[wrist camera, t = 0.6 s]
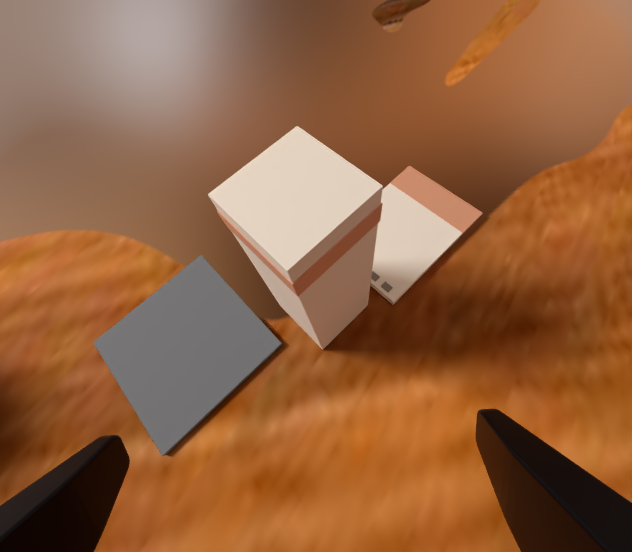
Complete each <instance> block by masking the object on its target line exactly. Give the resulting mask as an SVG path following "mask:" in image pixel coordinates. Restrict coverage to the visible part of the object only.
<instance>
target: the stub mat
mask: <svg viewBox="0 0 632 552" xmlns="http://www.w3.org/2000/svg"><path fill="white" fill-rule="evenodd" d="M93 343H94V344H95V346H96V348H97V349H98V351H99V353H100V354H101V356H102V358H103V359H104V361H105V362H106V364H107V366H108V367H109V369H110V371H111V372H112V374H113V376H114V377H115V379H116V381H117V382H118V384H119V385H120V387H121V389H122V390H123V392H124V394H125V395H126V397H127V399H128V400H129V402H130V404H131V405H132V407H133V408H134V410H135V412H136V413H137V415H138V417H139V418H140V420H141V422H142V423H143V425H144V426H145V428H146V430H147V431H148V433H149V435H150V436H151V438H152V440H153V441H154V443H155V445H156V446H157V448H158V449H159V451H160V453H161V454H162V456H164V455H167V454H168V453H169V452H170V451H171V450H172V449H173V448H174V447H175V446H176V445H177V444H178V443H179V442H180V441H181V440H182V439H183V438H184V437H186V436H187V435H188V434H189V433H190V432H191V431H192V430H193V429H194V428H195V427H196V426H197V425H198V424H199V423H200V422H201V421H202V420H203V419H205V418H206V417H207V416H208V415H209V414H210V413H211V412H212V411H213V410H214V409H215V408H216V407H217V406H218V405H219V404H220V403H221V402H222V401H224V400H225V399H226V398H227V397H228V396H229V395H230V394H231V393H232V392H233V391H234V390H235V389H236V388H237V387H238V386H239V385H240V384H241V383H243V382H244V381H245V380H246V379H247V378H248V377H249V376H250V375H251V374H252V373H253V372H254V371H255V370H256V369H257V368H258V367H259V366H260V365H261V364H263V363H264V362H265V361H266V360H267V359H268V358H269V357H270V356H271V355H272V354H273V353H274V352H275V351H276V350H277V349H278V348H279V347H280V346H282V345H283V344H282V343H281V342H280V341H279V340H278V339H277V338H276V337H275V335H274V334H273V333H272V332H271V331H270V330H269V329H268V328H267V327H266V326H265V324H264V323H263V322H262V321H261V320H260V319H259V318H258V317H257V316H256V315H255V314H254V312H253V311H252V310H251V309H250V308H249V307H248V306H247V305H246V304H245V303H244V301H243V300H242V299H241V298H240V297H239V296H238V295H237V294H236V293H235V292H234V290H233V289H232V288H231V287H230V286H229V285H228V284H227V283H226V282H225V280H224V279H223V278H222V277H221V276H220V275H219V274H218V273H217V272H216V271H215V269H213V267H212V266H211V265H210V264H209V263H208V262H207V261H206V260H205V259H204V258H203V256H202V255H200V256H199V257H198V258H197V259H196V260H194V261H193V262H192V263H191V264H189V265H188V266H187V267H186V268H184V269H183V270H182V271H181V272H179V273H178V274H177V275H176V276H175V277H173V278H172V279H171V280H170V281H168V282H167V283H166V284H165V285H163V286H162V287H161V288H160V289H159V290H157V291H156V292H155V293H154V294H152V295H151V296H150V297H149V298H147V299H146V300H145V301H144V302H143V303H141V304H140V305H139V306H138V307H136V308H135V309H134V310H133V311H131V312H130V313H129V314H128V315H126V316H125V317H124V318H123V319H122V320H120V321H119V322H118V323H117V324H115V325H114V326H113V327H112V328H110V329H109V330H108V331H107V332H106V333H104V334H103V335H102V336H101V337H99V338H98V339H97V340H96V341H94V342H93Z"/></svg>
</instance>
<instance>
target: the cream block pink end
mask: <svg viewBox="0 0 632 552" xmlns="http://www.w3.org/2000/svg"><path fill="white" fill-rule="evenodd" d="M381 203H383V204H382V211H381V219H380V222H379V223H378V228H377V236H376V244H375V252H374V260H373V268H372V276H371V284H370V286H371V287H373V288H374V289H375V290H376V291H377V292H378V293H380V294H381V295H382V296H383V297H384V298H385V299H387V300H388V301H389V302H390V303H391V304H392V305H394V304H395V303H396V302H397V300H398V299H399V298H400V297H401V296H402V295H403V294H404V293H405V292H406V291H407V290H408V289H409V288H410V287H411V286H412V285H413V284H414V283H415V282H416V281H417V280H418V279H419V278H420V277H421V276H422V275H423V274H424V273H425V272H426V271H427V270H428V269H429V268H430V267H431V266H432V265H433V264H434V263H435V262H436V261H437V260H438V259H439V258H440V257H441V256H442V255H443V254H444V253H445V252H446V251H447V250H448V249H449V248H450V247H451V246H452V245H453V244H454V243H455V242H456V241H457V240H458V239H459V238H460V237H461V236H462V235H463V234H464V233H465V232H466V231H467V230H468V229H469V228H470V227H471V226H472V225H473V224H474V223H475V222H476V221H477V220H478V219H479V218H480V217H481V215H482V212H481V211H479V210H477V209H476V208H474V207H473V206H471V205H469V204H468V203H467V202H465V201H463V200H462V199H460V198H459V197H457V196H456V195H454V194H452V193H451V192H449V191H448V190H446V189H445V188H443V187H442V186H440V185H439V184H437V183H436V182H434V181H432V180H431V179H429V178H428V177H426V176H424V175H423V174H421V173H420V172H418V171H417V170H415V169H414V168H412V167H411V166H408V167H407V168H406V169H405V170H404V171H403V172H402V173H401V174H399V175H398V176H397V177H396V178H395V179H394V180H393V181H392V182H391V183H390V184H389V185H388V186H387V187H385V188H384V189H383V190H382V197H381Z"/></svg>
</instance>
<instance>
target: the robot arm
mask: <svg viewBox="0 0 632 552" xmlns="http://www.w3.org/2000/svg"><path fill="white" fill-rule="evenodd" d="M476 442H477V446H478V449H479V451H480V454H481V457H482V459H483V462H484V465H485V467H486V470H487V473H488V475H489V478H490V480H491V483H492V486H493V488H494V491H495V494H496V496H497V499H498V502H499V504H500V507H501V509H502V512H503V514H504V517H505V519H506V521H507V523H508V526H509V528H510V530H511V532H512V534H513V536H514V538H515V540H516V542H517V544H518V546H519V548H520V550H521V552H632V503H631V502H630V501H628V500H627V499H625V498H624V497H623V496H621V495H620V494H618V493H617V492H615V491H614V490H613V489H611V488H610V487H608V486H607V485H605V484H604V483H603V482H601V481H600V480H598V479H597V478H595V477H594V476H593V475H591V474H590V473H588V472H587V471H585V470H584V469H582V468H581V467H580V466H578V465H577V464H575V463H574V462H572V461H571V460H570V459H568V458H567V457H565V456H564V455H562V454H561V453H560V452H558V451H557V450H555V449H554V448H552V447H551V446H550V445H548V444H547V443H545V442H544V441H542V440H541V439H540V438H538V437H537V436H535V435H534V434H532V433H531V432H529V431H528V430H527V429H525V428H524V427H522V426H521V425H519V424H518V423H517V422H515V421H514V420H512V419H511V418H509V417H508V416H507V415H505V414H504V413H502V412H501V411H499V410H497V409H481V410H479V411H478V413H477V422H476ZM129 462H130V460H129V456H128V453H127V451H126V449H125V446H124V444H123V442H122V439H121V438H120V437H119V436H118V435H107V436H101V437H99V438H98V439H96V440H95V441H93V442H92V443H90V444H89V445H87V446H86V447H85V448H83V449H82V450H80V451H79V452H77V453H76V454H74V455H73V456H71V457H70V458H69V459H67V460H66V461H64V462H63V463H61V464H60V465H58V466H57V467H56V468H54V469H53V470H51V471H50V472H48V473H47V474H45V475H44V476H43V477H41V478H40V479H38V480H37V481H35V482H34V483H32V484H31V485H30V486H28V487H27V488H25V489H24V490H22V491H21V492H19V493H18V494H17V495H15V496H14V497H12V498H11V499H9V500H8V501H6V502H5V503H4V504H2V505H1V506H0V552H94V550H95V548H96V546H97V544H98V542H99V540H100V538H101V536H102V533H103V531H104V528H105V526H106V524H107V521H108V519H109V516H110V514H111V511H112V509H113V506H114V503H115V501H116V498H117V496H118V493H119V491H120V488H121V486H122V483H123V481H124V478H125V476H126V473H127V471H128V468H129Z"/></svg>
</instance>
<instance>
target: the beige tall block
mask: <svg viewBox="0 0 632 552" xmlns="http://www.w3.org/2000/svg"><path fill="white" fill-rule="evenodd" d="M382 189H383V186H382V185H381V184H379V183H378V182H376V181H375V180H374V179H372V178H371V177H369V176H368V175H366V174H365V173H363V172H362V171H361V170H359V169H358V168H356V167H355V166H354V165H352V164H351V163H349V162H348V161H346V160H345V159H344V158H342V157H341V156H339V155H338V154H336V153H335V152H334V151H332V150H331V149H329V148H328V147H326V146H325V145H324V144H322V143H321V142H319V141H318V140H316V139H315V138H314V137H312V136H311V135H309V134H308V133H306V132H305V131H304V130H302V129H301V128H299V127H298V126H296V127H295V128H294V129H292V130H291V131H290V132H289V133H287V134H286V135H285V136H283V137H282V138H281V139H280V140H278V141H277V142H275V143H274V144H273V145H272V146H270V147H269V148H268V149H266V150H265V151H264V152H263V153H261V154H260V155H259V156H257V157H256V158H255V159H253V160H252V161H251V162H249V163H248V164H247V165H245V166H244V167H243V168H242V169H240V170H239V171H238V172H236V173H235V174H234V175H232V176H231V177H230V178H229V179H227V180H226V181H225V182H223V183H222V184H221V185H220V186H218V187H217V188H215V189H214V190H213V191H212V192H210V193H209V194H208V196H209V197H210V199H211V200H212V202H213V203H214V205H215V206H216V208H217V212H218V214H219V215H220V217H221V218H222V220H223V221H224V223H225V224H226V226H227V227H228V228H229V229H230V230H231V231H232V232H233V234H234V236H235V237H236V239H237V240H238V242H239V243H240V245H241V246H242V248H243V249H244V251H245V252H246V254H247V255H248V257H249V258H250V260H251V261H252V263H253V264H254V266H255V268H256V269H257V271H258V272H259V274H260V275H261V277H262V278H263V280H264V281H265V283H266V284H267V286H268V288H269V289H270V291H271V292H272V294H273V295H274V297H275V298H276V300H277V301H278V303H279V304H280V306H281V307H282V308H283V309H284V310H285V311H286V312H287V313H288V314H289V315H290V316H291V317H292V318H293V319H294V321H295V322H296V323H297V324H298V325H299V326H300V327H301V328H302V329H303V330H304V331H305V332H306V333H307V334H308V335H309V336H310V337H311V338H312V339H313V340H314V341H315V342H316V343H317V344H318V345H319V346H320V347H321V349H322V350H323V349H324V348H325V347H326V346H327V345H328V344H329V343H330V342H331V341H332V340H333V339H334V338H335V337H336V336H337V335H338V334H339V333H340V332H341V331H342V330H343V329H344V328H345V327H346V326H347V325H348V324H349V323H350V322H351V321H353V320H354V319H355V318H356V317H357V316H358V315H359V314H360V313H361V312H362V311H363V310H364V309H365V308H366V307H367V306H368V300H369V292H370V284H371V276H372V268H373V260H374V252H375V244H376V236H377V228H378V223H379V222H380V219H381V211H382V204H383V203H381V197H382Z"/></svg>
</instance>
